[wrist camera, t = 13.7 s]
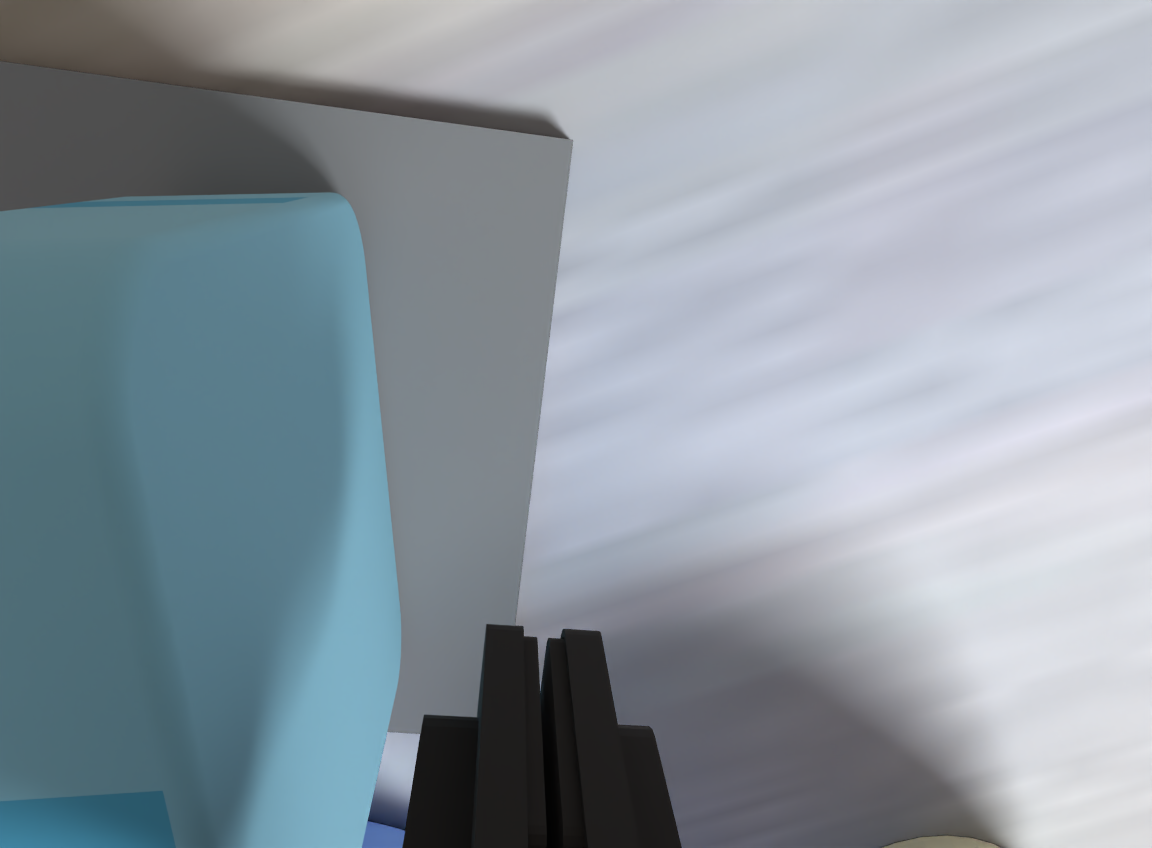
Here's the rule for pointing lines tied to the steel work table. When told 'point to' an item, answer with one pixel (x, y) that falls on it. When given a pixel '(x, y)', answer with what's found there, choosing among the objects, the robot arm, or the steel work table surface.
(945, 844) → the reusable coffee cup
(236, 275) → the data package
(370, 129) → the mat
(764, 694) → the steel work table surface
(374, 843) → the water jug
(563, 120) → the steel work table surface
